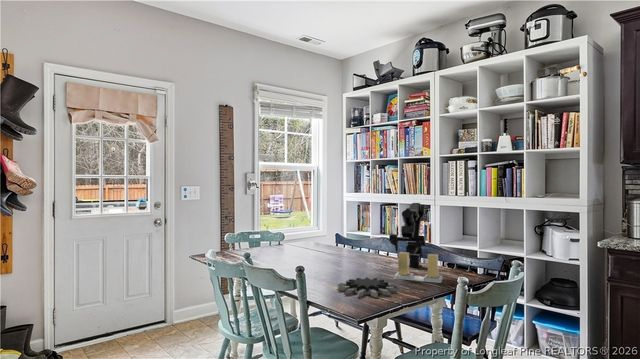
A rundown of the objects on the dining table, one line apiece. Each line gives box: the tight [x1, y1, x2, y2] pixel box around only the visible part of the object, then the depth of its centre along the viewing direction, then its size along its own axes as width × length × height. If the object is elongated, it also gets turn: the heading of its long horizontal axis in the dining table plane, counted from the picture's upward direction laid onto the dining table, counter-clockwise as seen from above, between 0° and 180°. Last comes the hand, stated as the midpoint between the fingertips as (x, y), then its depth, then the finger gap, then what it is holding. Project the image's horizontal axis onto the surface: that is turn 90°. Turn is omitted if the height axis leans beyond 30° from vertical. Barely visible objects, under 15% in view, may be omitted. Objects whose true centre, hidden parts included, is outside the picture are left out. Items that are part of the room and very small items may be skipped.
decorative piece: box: [336, 276, 400, 299], centre depth 181 cm, size 30×4×30 cm
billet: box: [397, 251, 410, 276], centre depth 201 cm, size 4×4×12 cm
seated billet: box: [427, 253, 439, 279], centre depth 196 cm, size 4×4×12 cm
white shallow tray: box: [393, 271, 443, 284], centre depth 199 cm, size 9×23×2 cm, turn 67°
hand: (405, 252), depth 205 cm, fingers open, 9 cm apart
